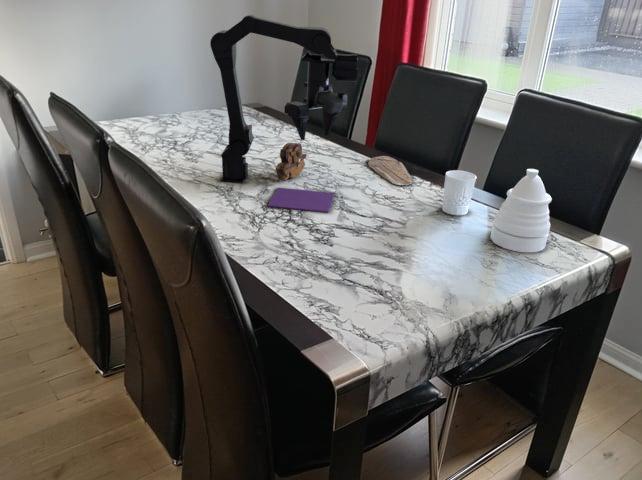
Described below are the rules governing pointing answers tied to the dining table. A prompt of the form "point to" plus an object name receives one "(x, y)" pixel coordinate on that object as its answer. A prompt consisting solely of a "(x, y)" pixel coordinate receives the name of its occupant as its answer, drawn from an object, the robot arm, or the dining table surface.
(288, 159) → the wooden carving
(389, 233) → the dining table surface
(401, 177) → the fish fossil
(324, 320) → the dining table surface
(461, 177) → the white cup
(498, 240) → the honey pot
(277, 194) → the cloth
